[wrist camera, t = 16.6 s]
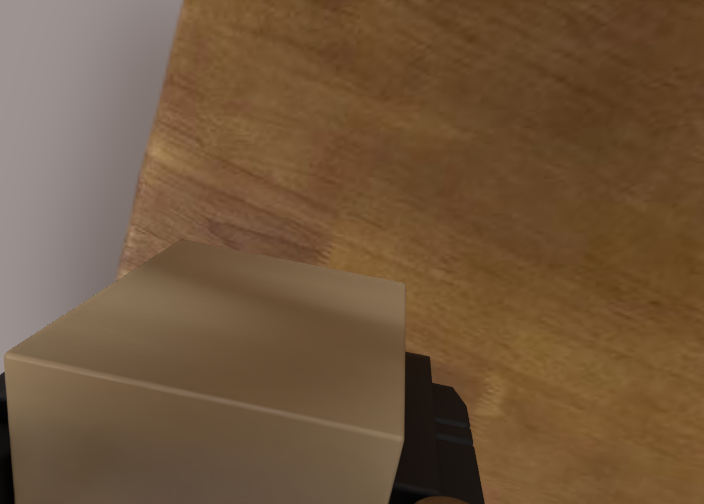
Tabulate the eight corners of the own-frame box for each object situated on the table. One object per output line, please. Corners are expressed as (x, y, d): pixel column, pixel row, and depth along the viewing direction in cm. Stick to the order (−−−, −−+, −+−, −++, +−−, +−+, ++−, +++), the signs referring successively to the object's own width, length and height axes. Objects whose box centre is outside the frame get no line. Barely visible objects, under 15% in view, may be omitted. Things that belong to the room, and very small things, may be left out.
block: (170, 425, 11) (22, 632, 7) (181, 237, 10) (0, 353, 5) (365, 467, 11) (337, 709, 7) (406, 282, 9) (405, 439, 5)
